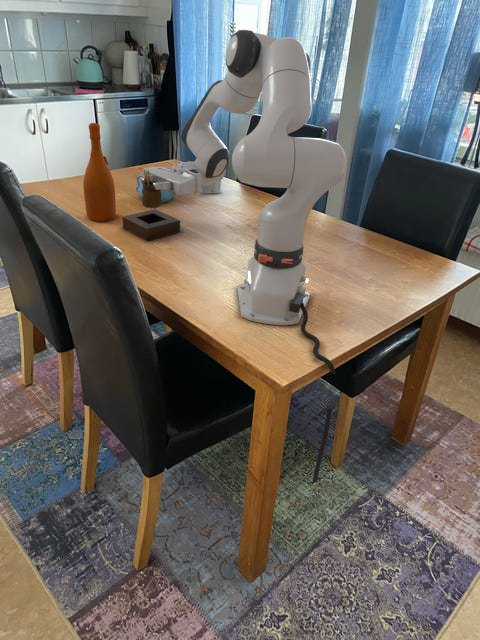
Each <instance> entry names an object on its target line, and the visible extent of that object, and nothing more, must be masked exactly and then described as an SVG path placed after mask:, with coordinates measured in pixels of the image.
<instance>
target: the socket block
mask: <svg viewBox="0 0 480 640" xmlns="http://www.w3.org/2000/svg"><path fill="white" fill-rule="evenodd" d="M122 229H124V230H125V231H127V232H129V233H131V234H132V235H135V236H136V237H138V238H141V239H143V240H144V241H146V242H150V241H153V240H157V239H160V238H164V237H167V236H171V235H174V234H178V233H180V232H181V220H180V219H178V218H177V217H174V216H173V215H169V214H168V213H165V212H163V211H160V210H159V209H157V208H152V209H150V210H149V209H148V210H145V211H139V212H137V213H133V214H128V215H124V216H123V215H122Z"/></svg>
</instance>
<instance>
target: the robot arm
mask: <svg viewBox="0 0 480 640" xmlns="http://www.w3.org/2000/svg"><path fill="white" fill-rule="evenodd" d="M311 65H312V64H311V57H310V56H309V54H308V53H307V51H306V50H305V47H304V45H303V43H301V41H299V40H298V39H296V38H294V37H291V36H283V37H279V38H276V37H273V36H271V35H266V34H264V33H259V32H254V31H253V30H249V29H238V30H237V31H235V32H234V33H233V34H232V36H231V37H230V39H229V42H228V44H227V47H226V50H225V66H226V68H227V72H226V73H225V76H224V78H223V79H220V80H217V81H215V82H213V83H212V84H211V86H210V87H209V88H208V90H207V91H206V93H205V94H204V96H203V97H202V99H201V101H200V102H199V104H198V105H197V107H196V109H195V111H194V112H193V114H192V116H191V117H190V118H189V119H188V120H187V121H186V122H185V123H184V125H183V126H182V130H181V135H180V136H181V137H180V138H181V141H182V143H183V144H184V145H185V146H186V147H187V148H188V150H190V152H191V153H192V154H193V155H194V157H195V160H194V161H184V162H178V163H174V164H173V165H172V167H171V168H168V167H166V168H165V167H164V166H158V165H157V166H148V167H144V168H143V169H142V175H143V177H140V184H141V183H142V184H143V183H144V182H146V181H147V180H146V179H145V175H144V169H145V174H146V170H147V175H148V170H149V176H150V178H151V179H149V180H148V181H152V179H153V181H155V182H156V183H154V184H153V188H154V189H156V190H159V189H167V190H170V191H173V192H175V194H177V195H181V196H187V195H193V194H194V195H197V194H198V195H199V194H201V187H205V186H209V185H212V184H215V183H217V182H219V181H220V180H221V181H223V179H224V178H225V176H226V172H227V168H228V165H229V162H230V156H231V168H232V171H233V173H234V175H235V178H236V179H237V180H238V181H239V182H240V183H242V184H246V185H250V186H254V187H259V188H277V189H286V191H285V192H284V193H283V194H282V195H281V196H280V197H278V198H276V199H274V200H272V201H269V202H268V203H267V204H266V205H264V207H263V208H262V209H261V210H260V213H259V219H258V229H257V238H256V240H255V244H254V247H253V250H254V251H253V256H252V257H251V258H250V259H248V261H247V270H246V278H245V279H244V282H243V283H240V284H238V286H237V296H238V303H239V311H240V316H241V318H243V319H246V320H248V321H251V322H255V323H260V324H265V325H274V326H293V325H298V324H299V323H300V321H301V319H302V321H301V323H300V324H301V325H300V331H301V333H302V335H303V336H304V337H306V338H308V339H310V340H312V341H313V342H314V346H313V349H312V353H313V355H314V357H315V358H316V359H318V360H319V361H321V362H323V363H324V364H325V365H326V366H327V367H328V369H329V372H330V374H331V375H336V369H335V366H334V364H333V363H332V361H331V360H330V359H328V358H327V357H325V356H324V355H322V354H320V353H319V348H320V343H321V342H320V339H319V338H318V337H317V336H316V335H314V334H312V333H309V332H308V331H307V330H306V326H307V323H308V320H309V314H308V310H307V308H306V307H307V306H308V303H309V301H310V299H311V293H309V292H308V291H306V290H307V288H306V287H305V283H309V278H307V276H306V272H307V266H306V265H305V264H304V263H303V256H304V243H303V240H304V235H305V232H306V231H305V230H306V226H307V221H308V218H309V215H310V214H311V211H312V209H313V207H314V206H315V204H316V203H317V202H318V201H319V199H321V198H322V196H323V195H324V194H326V193H327V192H328V191H329V190H331V189H333V188H335V187H336V186H337V185H338V184H339V183H340V182H341V181H342V179H343V177H344V175H345V172H346V170H347V164H348V163H347V155H346V152H345V150H344V148H343V146H341V144H339V143H338V142H335V141H331V140H328V139H323V138H318V137H317V138H316V137H300V136H299V137H298V136H297V137H296V136H290V135H289V134H292V133H293V132H296V131H298V130H300V129H301V128H302V127H304V125H305V124H307V122H308V121H309V120H310V117H311V115H312V110H313V109H312V89H311V88H312V87H311V74H310V73H311ZM261 95H262V108H261V109H262V110H261V116H260V119H259V122H258V124H257V125H256V127H255V128H254V129H253V130H252V131H251V132H250V133H249V134H247V135H246V136H243V137H242V138H241V139H240V140H239V141H238V142H237V144H236V146H235V147H234V149H233V150H232V155H230V154H231V153H230V150H229V149H228V147H227V146H226V144H225V143H224V142H223V141H222V139H220V137H219V136H218V134H217V133H216V131H214V129H213V128H212V125H211V120H212V118H213V117H214V116H215V114H216V112H217V111H218V109H219V108H221V109H222V110H224V111H226V112H227V113H231V114H235V115H236V114H237V115H240V114H241V115H242V114H246V113H249V112H250V111H252V110H253V108H255V106H256V105H257V103H258V102H259V100H260V98H261ZM150 172H151V174H150ZM152 172H153V175H152ZM302 317H303V318H302ZM332 413H333V409H331V408H327V409H326V415H325V421H324V426H323V427H324V428H323V433H322V437H321V442H320V445H319V450H318V454H317V458H316V461H315V467H314V472H313V477H312V482H313V483H317V482H318V477H319V473H320V469H321V464H322V460H323V458H324V457H323V456H324V453H325V448H326V444H327V441H328V440H327V439H328V435H329V430H330V425H331V419H332Z"/></svg>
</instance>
